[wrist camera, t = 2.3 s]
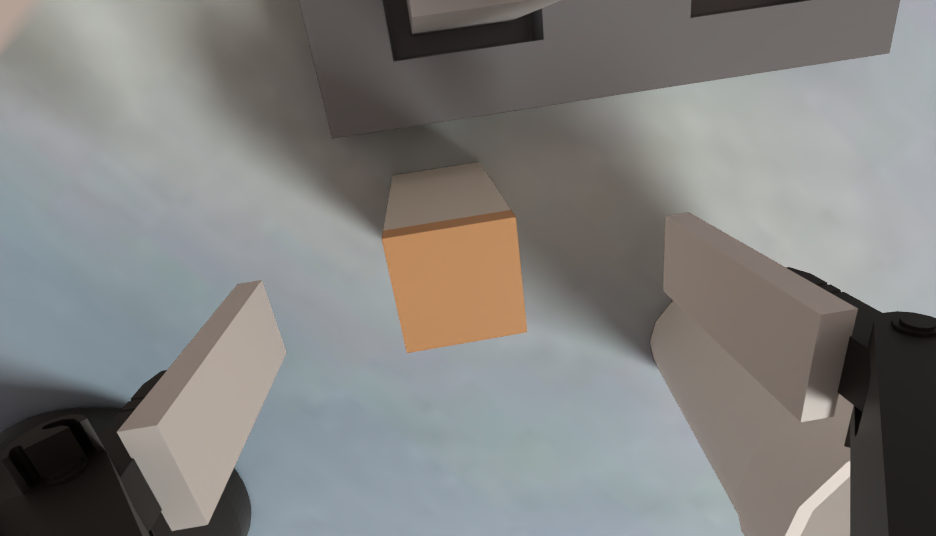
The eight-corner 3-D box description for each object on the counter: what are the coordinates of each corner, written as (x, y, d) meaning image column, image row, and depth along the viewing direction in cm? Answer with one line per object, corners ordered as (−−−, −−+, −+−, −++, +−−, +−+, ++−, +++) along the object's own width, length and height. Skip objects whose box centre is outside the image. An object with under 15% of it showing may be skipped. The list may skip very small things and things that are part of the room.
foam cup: (697, 231, 26) (940, 374, 14) (809, 303, 29) (1092, 474, 17) (594, 364, 29) (723, 578, 17) (704, 418, 31) (884, 636, 19)
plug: (408, 255, 25) (406, 353, 16) (392, 175, 23) (381, 239, 15) (489, 242, 25) (527, 332, 17) (479, 161, 23) (515, 217, 15)
